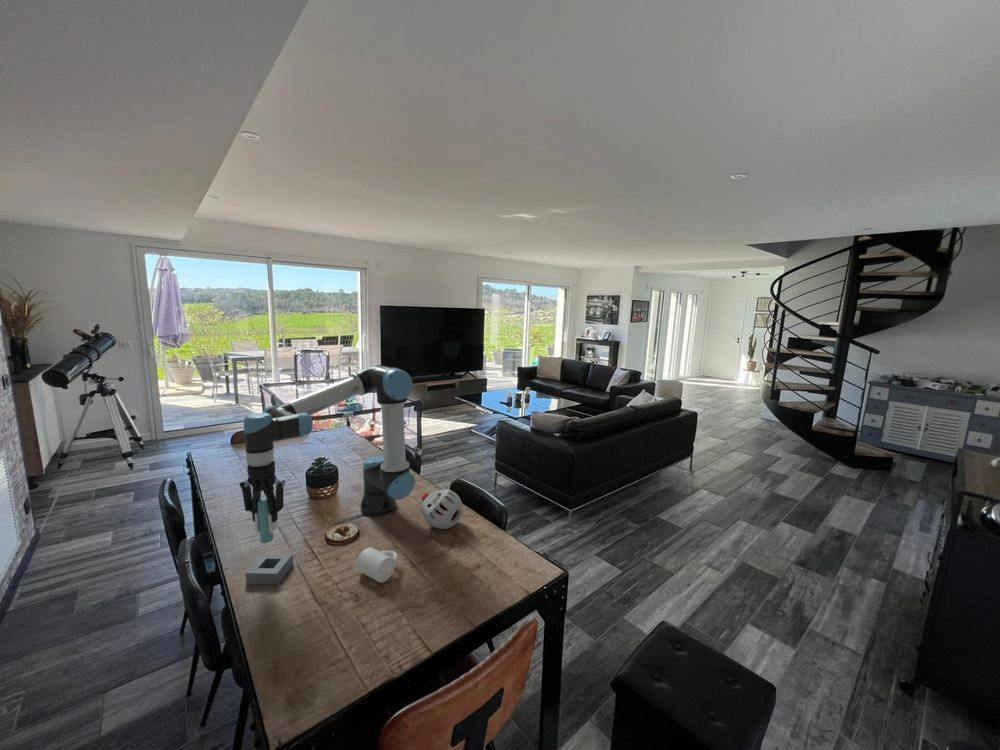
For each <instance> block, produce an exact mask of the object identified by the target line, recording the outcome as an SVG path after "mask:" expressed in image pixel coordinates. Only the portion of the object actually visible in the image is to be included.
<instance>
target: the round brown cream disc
mask: <svg viewBox="0 0 1000 750" xmlns="http://www.w3.org/2000/svg"><path fill="white" fill-rule="evenodd" d="M359 528H360V527H358V526H357V524H355V523H352V522H344V523H340V524H336V525H332V526H331V527H329V528H327V530H326V531H325V533H324V538H325V540H326V541H325V542H326V544H329V545H335V546H336V545H345V544H347V543H350V542H351V541H352V540H353V541H354V540H355V539H356V538H358V536H359V534H360V529H359Z"/></svg>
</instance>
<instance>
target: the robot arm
mask: <svg viewBox="0 0 1000 750" xmlns="http://www.w3.org/2000/svg"><path fill="white" fill-rule="evenodd" d="M412 391H413V380H412V377H411V375H410V374H409V373H408V372H407V371H405V370H403V369H400V368H398V367H392V366H388V365H387V366H386V365H382V364H376V365H372V366H368V367H366V368H363V369H361V370H358V371H355V372H353V373H351V374H350V376H349V377H348V378H345V379H343V380H340V381H338V382H335V383H334V384H330V385H328V386H326V387H323V388H321V389H318V390H316V391H314V392H310V393H308V394H306V395H303V396H301V397H298V398H297V399H293V400H292V401H290V402H286V403H283V404H281V405H269V406H267V407H266V408H265V409H264V410H263V411H262V412H256V413H252V414H251V413H250V414H248V415H246V416H245V417H244V419H243V435H244V444H245V456H246V457H245V458H246V464H247V465H246V467H247V469H246V471H247V476H248V477H247V479H244V480H242V481H240V483H239V487H240V488H241V493H242V497H243V505H244V510H245V512H250V513H251V515H252V517H251V518H252V522H253V523H255V525H254V526H255V533H260V529H259V516H258V503H257V501H258V500H259V499H261V498H262V492H263V493H264V495H265V497H266V498H267V502H268V506H269V509H270V513H269V514H268V522H269V533H272V532H273V533H274V531H275V530H276V529H277V521H278V519H279V516H278V515H279V512H280V511H281V510H283V509H284V487H285V484H286V480H285V479H283V480H279V479H278V478H277V475H276V461H275V448H274V447H275V446H274V443H275V442H278V441H284V440H288V439H295V438H300V437H304V436H306V435H309V434H311V433H312V431H313V425H314V424H313V419H312V417H311V416H312V415H314V414H317V413H320V412H321V411H324V410H326V409H328V408H331V407H333V406H335V405H337V404H339V403H342V402H344V401H347V400H349V399H351V398H354V397H355V396H359V397H360V396H364V395H366V394H372V393H376V402H377V404H378V405H379V406H380V407H381V425H382V448H383V450H382V451H383V455H377V456H372V457H368V458H366V459H364V461H363V464H362V471H363V495H362V499H361V502H360V513H362V514H363V515H366V516H371V517H376V516H377V517H378V516H384V515H387V514H389V513H392V512H393V511H394V510H395V509H396V507H397V500H399V501H400V500H403V499H406V498H407V497H408V496H409V495H410V494H412V493H411V492H412V491H414V489H415V486H416V477H415V476H414V474H413V473H411V471H410V470H411V469H410V462H409V461H408V460H406V436H405V434H406V433H405V412H404V410H405V409H404V407H405V406H404V405H405V404H406V403H407V402H408V397H409V396H410V393H412ZM274 489H275V492H274Z"/></svg>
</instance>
